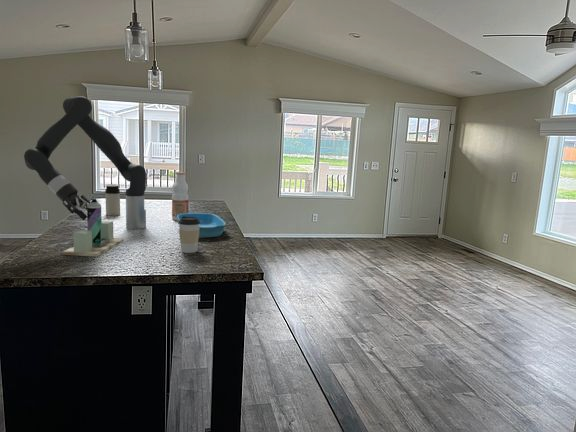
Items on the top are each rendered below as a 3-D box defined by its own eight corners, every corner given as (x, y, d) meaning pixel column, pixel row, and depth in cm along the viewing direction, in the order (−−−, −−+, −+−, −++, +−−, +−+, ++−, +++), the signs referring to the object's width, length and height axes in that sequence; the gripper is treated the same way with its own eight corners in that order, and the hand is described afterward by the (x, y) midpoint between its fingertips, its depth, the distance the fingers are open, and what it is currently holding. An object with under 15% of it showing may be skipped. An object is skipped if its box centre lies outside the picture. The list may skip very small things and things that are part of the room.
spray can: (87, 243, 185) (87, 197, 182) (101, 242, 188) (101, 197, 184) (87, 246, 180) (87, 199, 177) (101, 246, 183) (101, 199, 179)
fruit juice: (169, 218, 253) (169, 171, 248) (183, 217, 259) (183, 171, 254) (177, 221, 246) (177, 173, 241) (191, 220, 253) (191, 172, 248)
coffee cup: (203, 249, 189) (204, 216, 187) (192, 254, 181) (193, 220, 178) (185, 247, 192) (186, 214, 190) (174, 251, 184) (174, 217, 181)
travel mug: (115, 216, 252) (114, 186, 249) (103, 215, 254) (102, 185, 250) (122, 214, 260) (122, 184, 257) (111, 213, 261) (110, 183, 258)
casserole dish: (230, 239, 212) (230, 225, 211) (184, 241, 204) (184, 226, 203) (213, 224, 246) (213, 211, 245) (174, 225, 237) (174, 212, 236)
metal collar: (90, 241, 188) (90, 237, 188) (109, 243, 188) (109, 238, 188) (80, 246, 180) (79, 242, 180) (100, 247, 180) (100, 243, 179)
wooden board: (93, 239, 197) (93, 237, 197) (123, 241, 197) (123, 238, 197) (62, 254, 172) (62, 251, 171) (96, 256, 171) (96, 253, 171)
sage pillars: (102, 237, 196) (102, 220, 195) (113, 238, 196) (113, 221, 195) (74, 252, 172) (73, 232, 170) (86, 252, 172) (85, 233, 170)
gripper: (59, 184, 172) (88, 213, 174) (77, 181, 186) (104, 208, 188) (47, 196, 173) (75, 225, 175) (66, 192, 187) (92, 219, 189)
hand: (90, 216), depth 182 cm, fingers open, 8 cm apart
